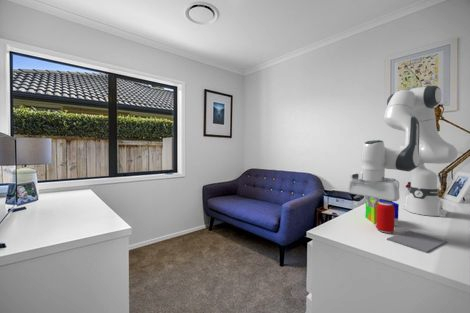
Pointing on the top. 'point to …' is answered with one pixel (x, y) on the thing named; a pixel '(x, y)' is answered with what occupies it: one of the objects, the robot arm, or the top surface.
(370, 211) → the puzzle toy
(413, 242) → the mat
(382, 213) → the beverage can
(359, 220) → the top surface
